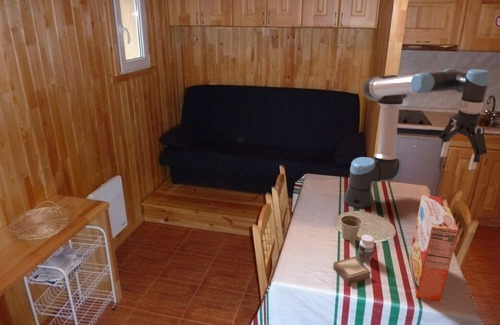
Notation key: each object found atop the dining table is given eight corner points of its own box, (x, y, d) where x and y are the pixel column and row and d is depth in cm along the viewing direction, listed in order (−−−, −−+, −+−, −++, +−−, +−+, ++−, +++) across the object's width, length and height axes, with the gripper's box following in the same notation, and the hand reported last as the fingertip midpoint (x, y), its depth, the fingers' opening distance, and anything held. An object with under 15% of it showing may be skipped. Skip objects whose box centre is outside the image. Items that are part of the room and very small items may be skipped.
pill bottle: (355, 253, 163) (358, 234, 159) (368, 253, 164) (371, 233, 160) (360, 262, 158) (363, 242, 154) (373, 261, 158) (377, 241, 154)
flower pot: (360, 233, 177) (363, 217, 174) (359, 244, 169) (361, 228, 166) (339, 229, 180) (341, 213, 177) (337, 240, 172) (339, 224, 168)
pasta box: (408, 259, 160) (422, 194, 148) (429, 262, 158) (444, 197, 146) (416, 297, 140) (432, 226, 128) (440, 301, 138) (458, 230, 126)
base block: (333, 268, 154) (333, 262, 153) (354, 262, 158) (354, 256, 157) (347, 284, 146) (348, 277, 145) (369, 277, 149) (370, 271, 148)
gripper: (436, 104, 156) (426, 152, 165) (492, 121, 135) (477, 176, 144) (450, 102, 159) (439, 150, 168) (507, 119, 138) (492, 173, 146)
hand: (457, 162), depth 156 cm, fingers open, 13 cm apart
